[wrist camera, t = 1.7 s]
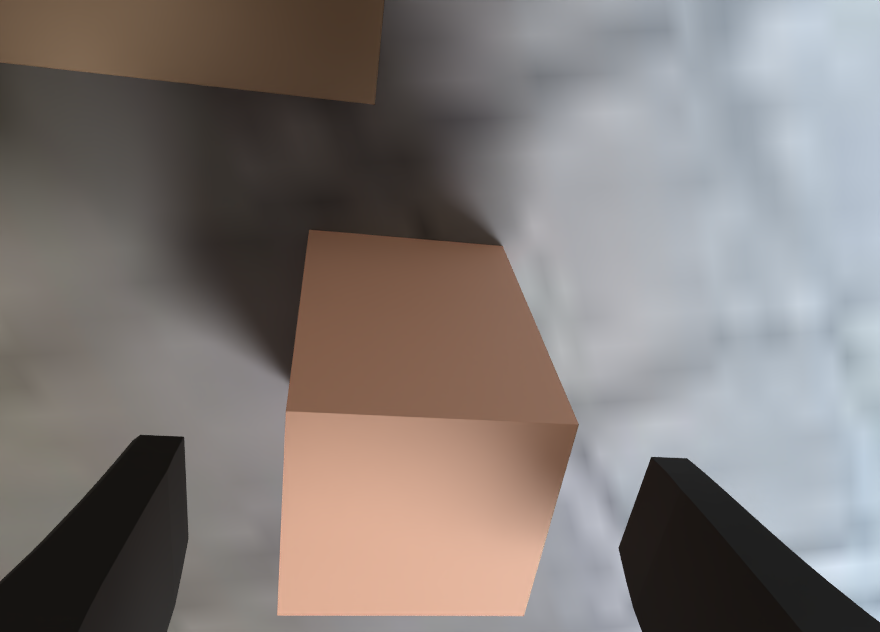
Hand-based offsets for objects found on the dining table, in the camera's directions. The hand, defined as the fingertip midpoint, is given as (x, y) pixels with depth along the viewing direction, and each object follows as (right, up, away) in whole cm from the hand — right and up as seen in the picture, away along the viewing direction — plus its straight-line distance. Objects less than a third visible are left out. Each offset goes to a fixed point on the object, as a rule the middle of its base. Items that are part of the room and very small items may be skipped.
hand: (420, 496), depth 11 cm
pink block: (-1, +3, +5) cm, 5 cm away
